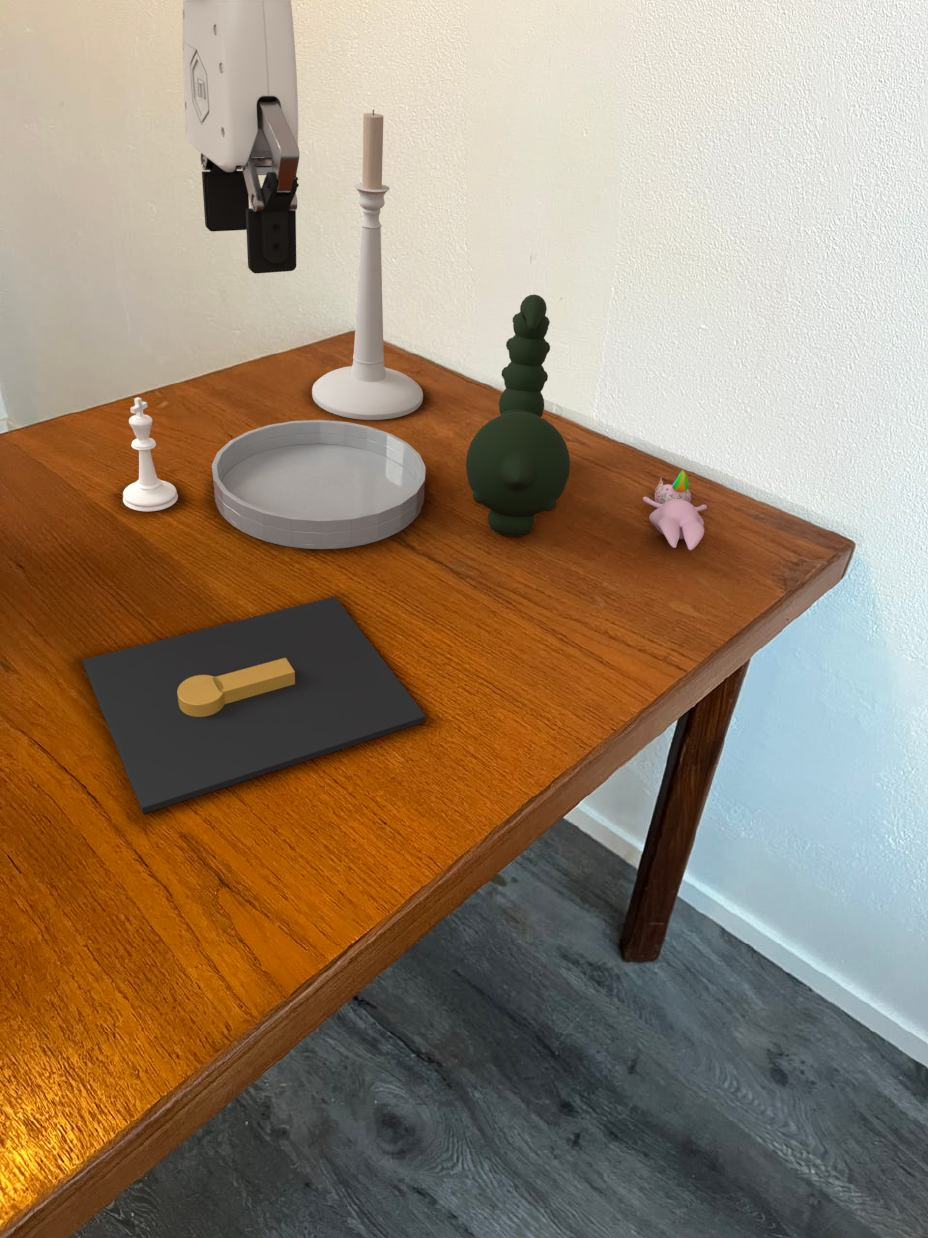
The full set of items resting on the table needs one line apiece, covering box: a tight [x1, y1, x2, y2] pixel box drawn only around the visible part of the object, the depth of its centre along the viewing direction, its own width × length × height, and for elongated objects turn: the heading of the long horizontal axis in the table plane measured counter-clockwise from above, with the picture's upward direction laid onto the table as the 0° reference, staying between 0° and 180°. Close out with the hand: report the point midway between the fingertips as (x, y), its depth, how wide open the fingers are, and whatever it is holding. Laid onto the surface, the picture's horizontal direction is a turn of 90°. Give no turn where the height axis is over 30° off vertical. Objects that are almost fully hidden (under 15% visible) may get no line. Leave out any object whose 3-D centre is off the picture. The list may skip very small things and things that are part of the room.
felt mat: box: [82, 596, 427, 814], centre depth 70 cm, size 20×16×1 cm
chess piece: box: [122, 396, 179, 513], centre depth 88 cm, size 5×5×10 cm
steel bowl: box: [211, 419, 427, 550], centre depth 93 cm, size 20×20×3 cm
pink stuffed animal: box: [642, 470, 708, 551], centre depth 92 cm, size 6×6×15 cm
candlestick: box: [311, 109, 424, 421], centre depth 104 cm, size 13×13×30 cm
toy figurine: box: [465, 294, 571, 537], centre depth 91 cm, size 9×19×25 cm
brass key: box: [177, 658, 295, 717], centre depth 69 cm, size 8×3×1 cm, turn 120°
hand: (249, 249), depth 69 cm, fingers open, 9 cm apart
